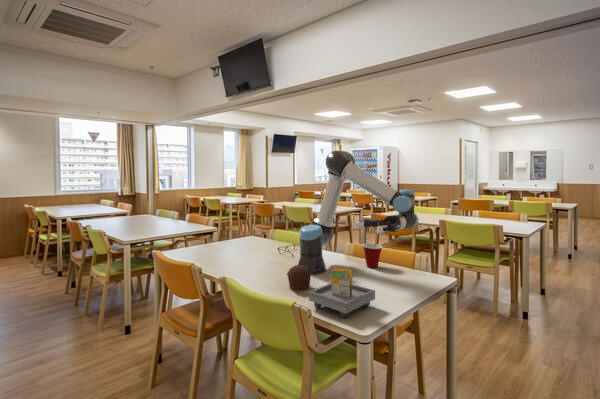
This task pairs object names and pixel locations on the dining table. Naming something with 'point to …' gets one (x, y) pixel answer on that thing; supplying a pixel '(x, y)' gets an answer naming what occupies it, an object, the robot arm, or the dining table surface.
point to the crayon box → (341, 281)
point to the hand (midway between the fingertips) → (365, 228)
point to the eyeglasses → (287, 248)
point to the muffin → (299, 278)
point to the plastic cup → (372, 254)
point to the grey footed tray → (342, 298)
